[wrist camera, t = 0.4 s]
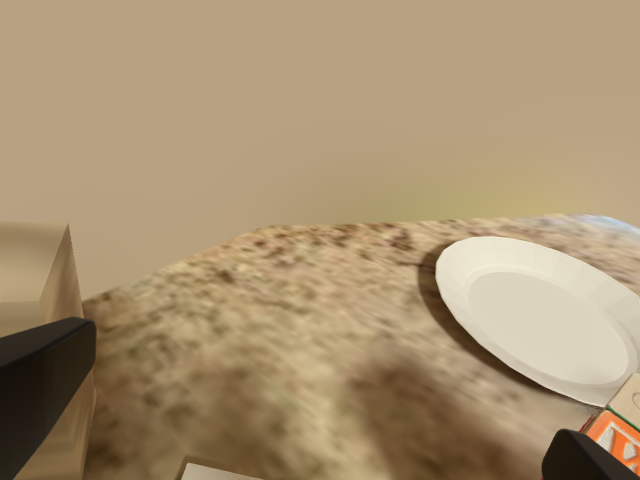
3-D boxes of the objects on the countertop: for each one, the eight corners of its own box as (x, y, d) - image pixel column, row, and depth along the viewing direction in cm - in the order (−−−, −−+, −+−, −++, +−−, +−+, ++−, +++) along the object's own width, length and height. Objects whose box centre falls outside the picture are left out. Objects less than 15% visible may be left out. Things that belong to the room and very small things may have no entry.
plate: (732, 399, 35) (752, 381, 34) (538, 462, 27) (555, 442, 26) (544, 248, 51) (554, 232, 49) (387, 260, 43) (394, 241, 42)
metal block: (82, 482, 22) (38, 301, 15) (-41, 501, 20) (-148, 307, 13) (96, 396, 25) (68, 222, 19) (-5, 406, 24) (-74, 220, 17)
